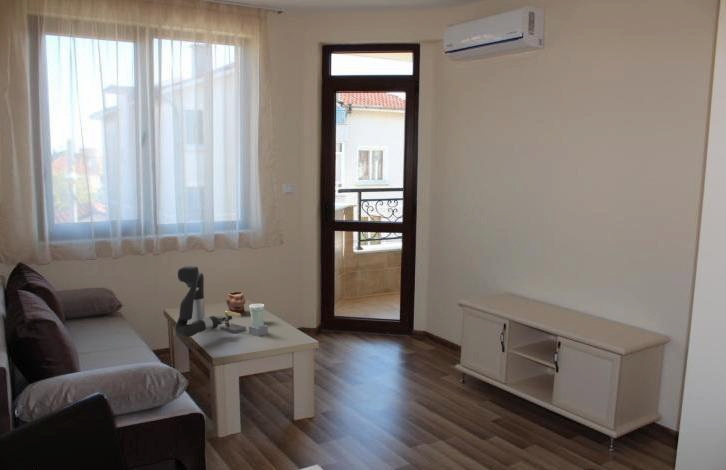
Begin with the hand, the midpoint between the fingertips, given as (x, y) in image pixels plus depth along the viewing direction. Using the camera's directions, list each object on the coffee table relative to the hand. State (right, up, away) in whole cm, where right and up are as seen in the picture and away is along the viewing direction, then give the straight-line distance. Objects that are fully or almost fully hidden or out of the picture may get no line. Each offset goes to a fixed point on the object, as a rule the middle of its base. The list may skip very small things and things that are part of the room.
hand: (231, 317), depth 369 cm
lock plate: (-1, -9, +9) cm, 13 cm away
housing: (+16, -10, +1) cm, 19 cm away
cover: (+16, -6, +1) cm, 17 cm away
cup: (+11, -7, +26) cm, 29 cm away
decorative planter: (-7, -4, +49) cm, 50 cm away
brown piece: (-1, -7, +8) cm, 11 cm away
